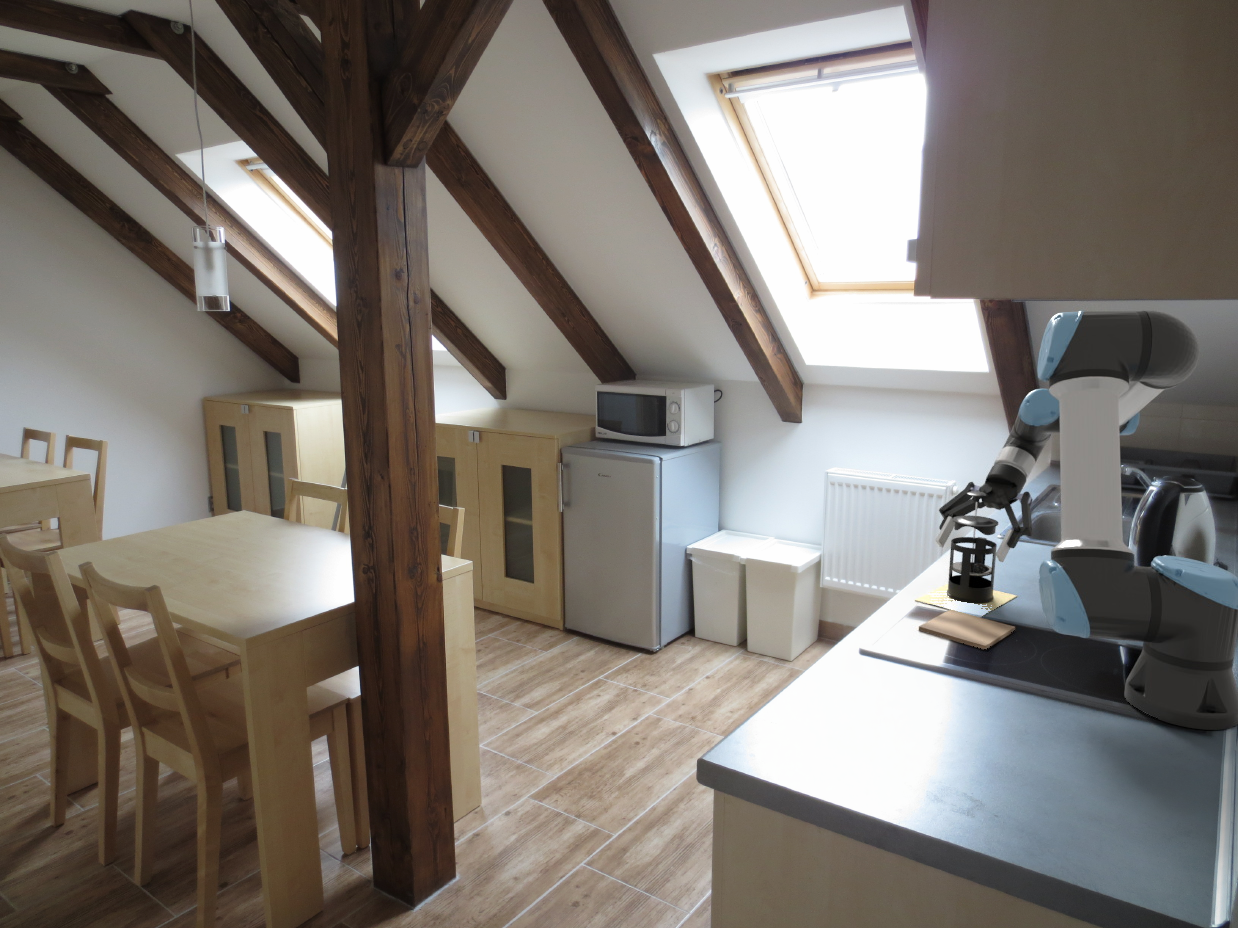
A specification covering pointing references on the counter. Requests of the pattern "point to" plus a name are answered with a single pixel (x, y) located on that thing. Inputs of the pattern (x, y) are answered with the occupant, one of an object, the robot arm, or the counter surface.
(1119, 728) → the counter surface
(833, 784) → the counter surface
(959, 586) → the french press
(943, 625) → the wooden cutting board
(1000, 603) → the recipe card
